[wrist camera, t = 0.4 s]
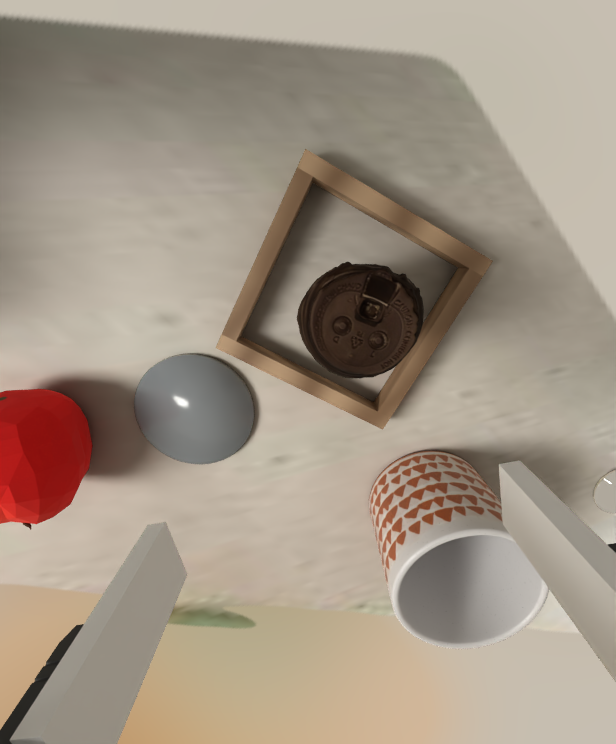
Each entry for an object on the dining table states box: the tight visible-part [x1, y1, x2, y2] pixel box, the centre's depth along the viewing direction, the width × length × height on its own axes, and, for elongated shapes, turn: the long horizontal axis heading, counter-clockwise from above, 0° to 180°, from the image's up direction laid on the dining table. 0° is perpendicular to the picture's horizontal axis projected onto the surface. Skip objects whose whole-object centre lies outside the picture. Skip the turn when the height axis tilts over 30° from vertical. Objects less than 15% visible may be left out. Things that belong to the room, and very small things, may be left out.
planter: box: [369, 451, 549, 649], centre depth 36 cm, size 14×14×13 cm
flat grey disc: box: [134, 354, 254, 464], centre depth 38 cm, size 13×13×1 cm
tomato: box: [0, 389, 92, 529], centre depth 34 cm, size 13×13×13 cm
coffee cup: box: [297, 262, 424, 378], centre depth 29 cm, size 9×8×13 cm
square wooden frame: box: [216, 149, 493, 429], centre depth 34 cm, size 19×19×2 cm
